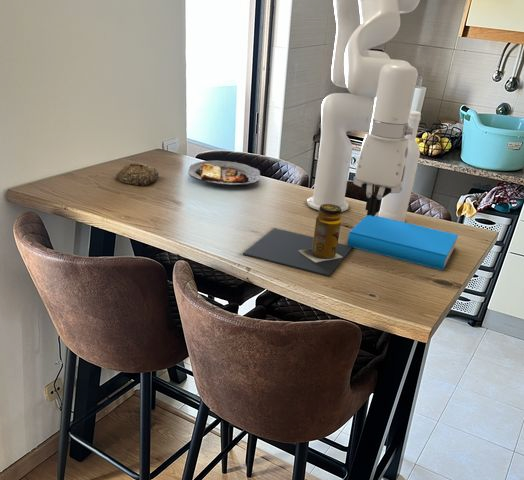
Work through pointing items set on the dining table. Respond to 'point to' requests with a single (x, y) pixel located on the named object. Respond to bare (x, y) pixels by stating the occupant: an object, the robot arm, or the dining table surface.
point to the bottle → (398, 203)
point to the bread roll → (137, 174)
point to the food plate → (224, 173)
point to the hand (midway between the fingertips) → (371, 214)
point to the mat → (294, 252)
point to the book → (403, 241)
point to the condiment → (325, 234)
